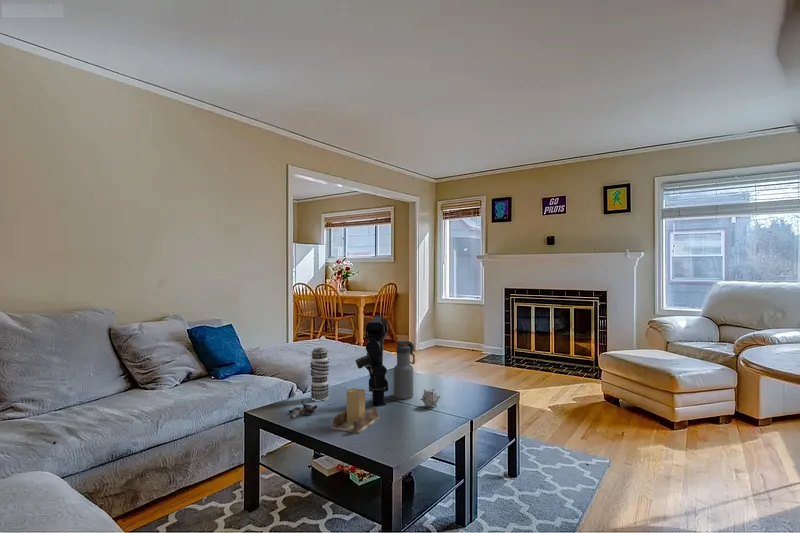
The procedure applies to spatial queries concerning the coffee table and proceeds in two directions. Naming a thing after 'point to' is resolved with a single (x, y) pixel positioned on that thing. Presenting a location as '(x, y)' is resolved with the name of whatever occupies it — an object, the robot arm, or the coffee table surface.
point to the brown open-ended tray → (355, 421)
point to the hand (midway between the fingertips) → (375, 385)
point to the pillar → (355, 404)
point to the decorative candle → (319, 374)
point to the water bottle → (404, 370)
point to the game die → (430, 398)
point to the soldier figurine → (303, 410)
